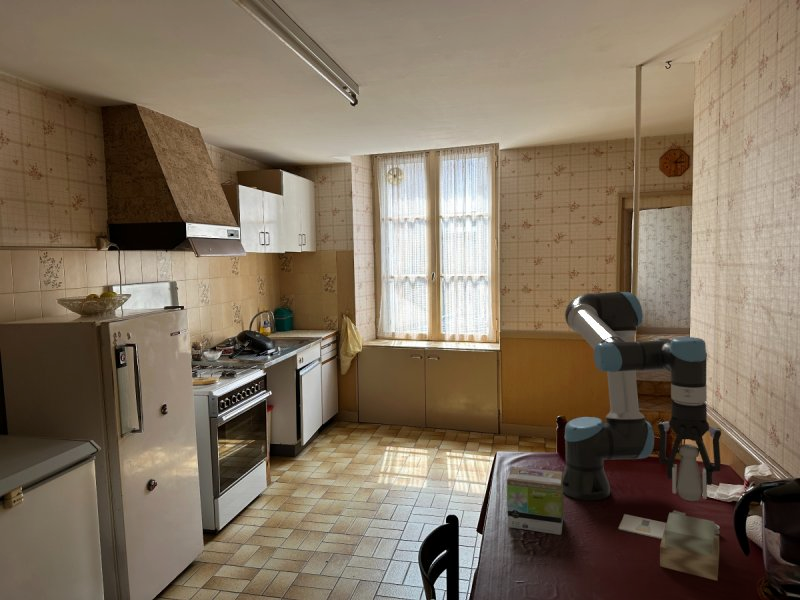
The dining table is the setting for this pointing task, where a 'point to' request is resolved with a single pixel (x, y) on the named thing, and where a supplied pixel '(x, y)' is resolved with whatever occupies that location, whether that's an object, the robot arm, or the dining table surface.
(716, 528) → the toy set
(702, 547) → the zigzag patterned box
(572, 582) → the dining table surface
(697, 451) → the salt shaker
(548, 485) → the tea box
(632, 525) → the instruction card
